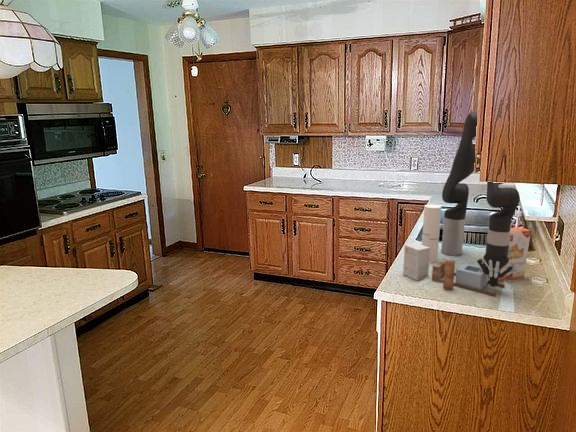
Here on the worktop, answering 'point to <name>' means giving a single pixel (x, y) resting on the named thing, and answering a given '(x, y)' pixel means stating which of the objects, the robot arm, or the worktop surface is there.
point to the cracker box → (517, 253)
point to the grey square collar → (471, 276)
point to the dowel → (449, 274)
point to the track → (440, 270)
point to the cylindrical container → (431, 230)
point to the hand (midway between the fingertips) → (493, 286)
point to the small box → (416, 261)
